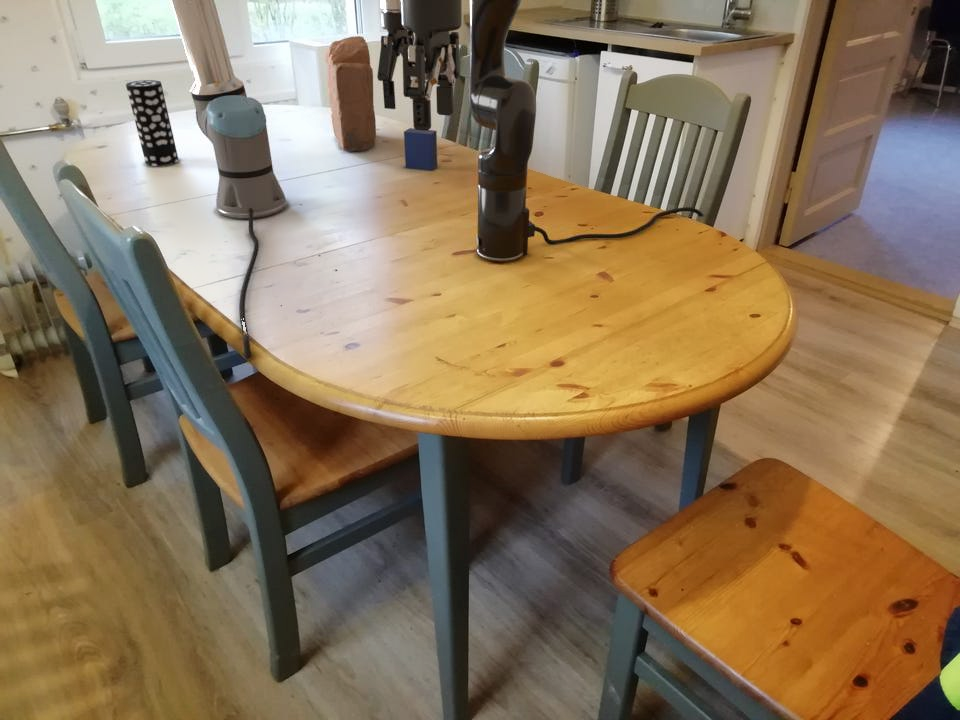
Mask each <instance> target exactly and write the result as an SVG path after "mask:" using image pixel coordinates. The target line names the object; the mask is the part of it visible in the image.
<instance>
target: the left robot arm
mask: <svg viewBox="0 0 960 720" xmlns="http://www.w3.org/2000/svg"><path fill="white" fill-rule="evenodd" d="M170 2H171V6H172V9H173V13H174V16H175V19H176V22H177V23H176V24H177V26H178V29H179V33H180V36H181V39H182V43H183V45H184V49H185V53H186V56H187V60H188V63H189V66H190V71H191V73H192V77H193V80H194V83H193V84H192V87H191V89H190V94H191V98H192V101H193V104H194V107H195V119H196V123H197V126H198V128H199V129H200V131H201V132H202V134H203V135H204V136H205V137H206V138H207V139H208V140H209V141H210V142H211V144H212V147H213V151H214V156H215V161H216V167H217V169H218V170H217V172H218V185H217V193H216V201H215V203H216V205H215V206H216V210H217V213H218V214H219V215H221V216H223V217H225V218H229V219H236V220H248V233H249V236H250V238H251V239H252V242H253V252H252V254H251V258H250V262H249V264H248V266H247V270H246V273H245V276H244V280H243V283H242V286H241V290H240V297H239V308H238V311H239V323H240V328H241V334H242V343H243V350H244V351H243V352H244V356H245V359H251V357H252V352H251V347H250V337H249V331H248V325H247V321H246V312H245V311H246V297H247V291H248V287H249V283H250V280H251V276H252V272H253V271H254V268H255V265H256V261H257V258H258V253H259V248H260V245H259V239H258V238H257V237H256V235H255V232H254V219H260V218H261V219H262V218H265V217H266V218H267V217H270V216H274V215H276V214H278V213H280V212H282V211H283V210H285V209H286V207H287V199H286V194H285V193H284V191H283V189H282V187H281V184H280V182H279V180H278V179H277V177H276V175H275V172H274V167H273V160H272V154H271V147H270V140H269V135H268V134H269V133H268V127H267V116H266V113H265V110H264V107H263V105H262V103H261V102H260V101H258V100H257V99H256V98H253V97H251V96H247V92H246V88H245V85H244V84H245V83H244V82H243V81H242V80H241V79H239V78H238V77H236V75H235V73H234V69H233V66H232V62H231V58H230V55H229V51H228V47H227V42H226V39H225V36H224V31H223V28H222V24H221V20H220V17H219V12H218V9H217V5H216V1H215V0H170ZM379 5H380V9H381V10H382V11H381V13H380V21H381V28H382V30H383V29H384V30H386V31H387V35H381V36H380V52H379V58H378V59H379V60H378V68H377V76H376V77H377V80H378V82H382V91H383V93H382V94H383V106H384V107H383V108H384V109H388V110H395V109H397V107H396V106H397V105H396V93H395V90H396V89H395V80H393V78H394V73H395V69H396V66H397V61H398V57H400V56H401V57H402V58H403V54H402V49H403V45H413V44H414V36H415V35H414V32H413V31H412V30H407V29H405V28H404V27H403V26H402V15H401V0H379ZM411 82H412V80H411V78H410V87H411ZM243 318H244V320H243ZM241 319H242V320H241ZM242 321H243V322H245V327H246V332H247V335H248V336H247V335H246V334H245V335H243V333H244V331H243V325H242Z"/></svg>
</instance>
